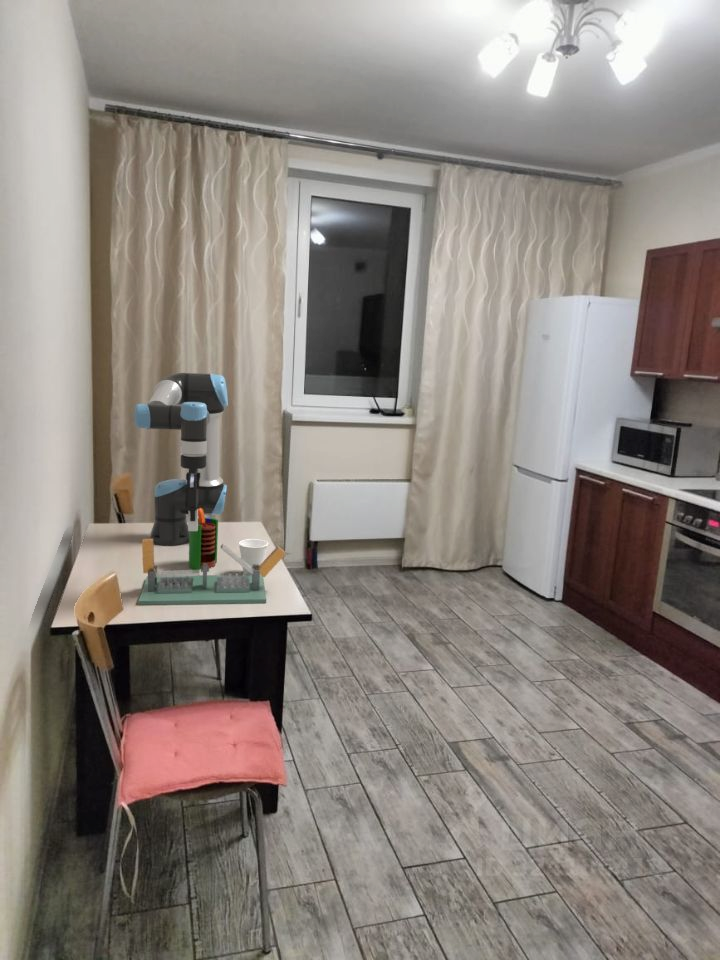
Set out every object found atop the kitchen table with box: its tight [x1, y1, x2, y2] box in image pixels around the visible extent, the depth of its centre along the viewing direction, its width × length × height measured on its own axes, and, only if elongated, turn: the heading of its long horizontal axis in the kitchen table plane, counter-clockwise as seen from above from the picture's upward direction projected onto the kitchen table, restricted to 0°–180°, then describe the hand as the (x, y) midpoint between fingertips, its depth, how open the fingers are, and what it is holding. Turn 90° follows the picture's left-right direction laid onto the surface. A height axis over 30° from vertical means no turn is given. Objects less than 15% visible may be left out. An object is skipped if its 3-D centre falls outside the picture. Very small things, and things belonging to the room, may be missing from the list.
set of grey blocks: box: [147, 563, 260, 594], centre depth 216 cm, size 10×33×7 cm, turn 101°
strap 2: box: [220, 543, 286, 578], centre depth 217 cm, size 16×3×12 cm
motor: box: [188, 508, 219, 571], centre depth 239 cm, size 10×9×20 cm
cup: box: [238, 538, 269, 575], centre depth 233 cm, size 10×10×11 cm
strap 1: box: [141, 538, 201, 578], centre depth 213 cm, size 16×3×12 cm, turn 100°
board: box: [138, 574, 267, 606], centre depth 217 cm, size 22×37×1 cm, turn 101°
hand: (192, 530), depth 212 cm, fingers closed
